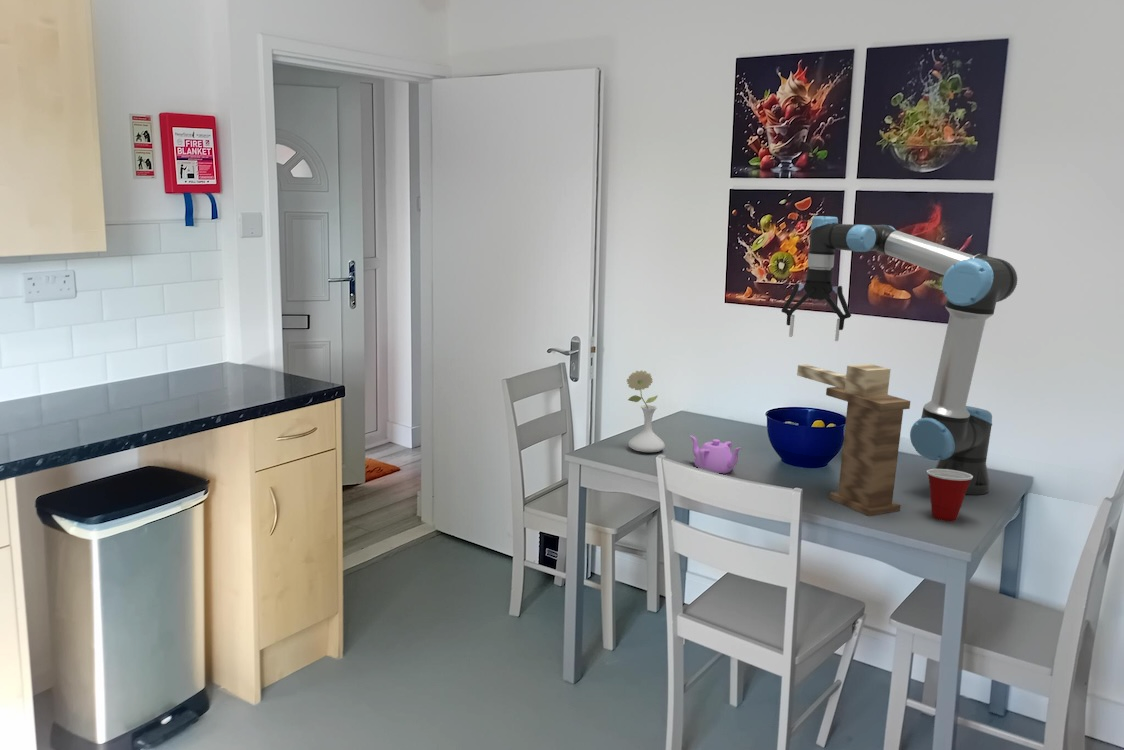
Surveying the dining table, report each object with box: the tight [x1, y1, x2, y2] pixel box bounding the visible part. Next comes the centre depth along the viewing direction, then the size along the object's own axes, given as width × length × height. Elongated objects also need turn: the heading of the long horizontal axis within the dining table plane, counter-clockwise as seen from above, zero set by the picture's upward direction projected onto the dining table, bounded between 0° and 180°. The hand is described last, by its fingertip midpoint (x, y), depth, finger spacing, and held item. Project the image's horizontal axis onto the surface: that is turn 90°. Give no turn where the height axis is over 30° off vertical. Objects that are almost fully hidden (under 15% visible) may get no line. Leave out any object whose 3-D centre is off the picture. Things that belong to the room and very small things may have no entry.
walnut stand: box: [825, 386, 911, 517], centre depth 230 cm, size 20×11×29 cm, turn 27°
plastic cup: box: [926, 468, 973, 522], centre depth 222 cm, size 11×11×12 cm
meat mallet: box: [796, 363, 891, 398], centre depth 236 cm, size 28×8×7 cm, turn 27°
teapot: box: [688, 434, 743, 475], centre depth 255 cm, size 12×14×9 cm
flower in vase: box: [626, 370, 666, 453], centre depth 270 cm, size 13×11×25 cm
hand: (813, 338), depth 268 cm, fingers open, 13 cm apart
